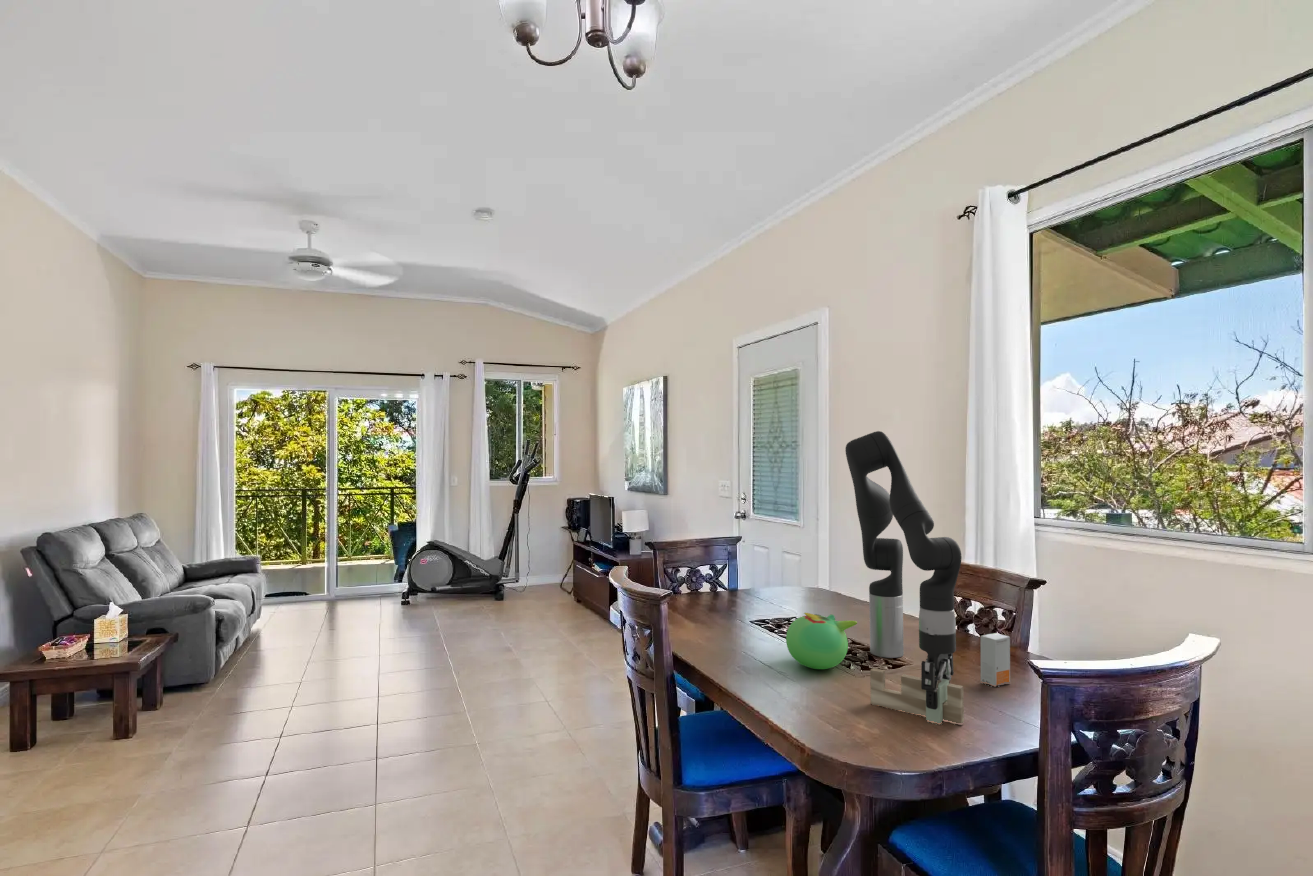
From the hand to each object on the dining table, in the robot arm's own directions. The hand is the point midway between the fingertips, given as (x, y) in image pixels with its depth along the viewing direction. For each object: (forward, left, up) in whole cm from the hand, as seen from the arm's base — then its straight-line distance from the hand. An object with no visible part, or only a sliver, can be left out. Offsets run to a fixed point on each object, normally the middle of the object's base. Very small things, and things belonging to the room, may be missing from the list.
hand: (938, 702), depth 150 cm
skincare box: (-32, +4, -4) cm, 32 cm away
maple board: (0, -5, -4) cm, 6 cm away
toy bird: (-17, -37, -4) cm, 41 cm away
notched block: (0, 0, -4) cm, 4 cm away
